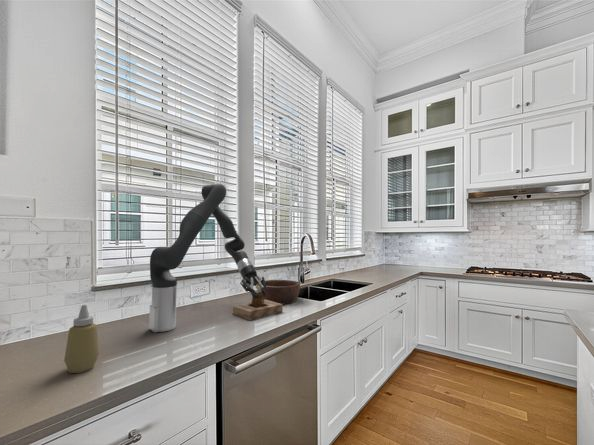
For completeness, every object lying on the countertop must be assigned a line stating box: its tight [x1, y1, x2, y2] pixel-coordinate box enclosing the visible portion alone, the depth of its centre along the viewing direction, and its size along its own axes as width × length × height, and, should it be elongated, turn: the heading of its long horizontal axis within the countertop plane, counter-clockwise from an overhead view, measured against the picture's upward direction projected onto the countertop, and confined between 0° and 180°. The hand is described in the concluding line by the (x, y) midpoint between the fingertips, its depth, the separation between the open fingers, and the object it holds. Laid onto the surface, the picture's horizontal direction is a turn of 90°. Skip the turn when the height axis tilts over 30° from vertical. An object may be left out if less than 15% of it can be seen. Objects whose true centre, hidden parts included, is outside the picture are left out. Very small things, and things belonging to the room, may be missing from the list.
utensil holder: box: [251, 283, 264, 308], centre depth 142 cm, size 6×6×12 cm
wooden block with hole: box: [232, 300, 284, 321], centre depth 142 cm, size 20×14×4 cm
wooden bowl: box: [258, 279, 301, 305], centre depth 170 cm, size 25×25×10 cm
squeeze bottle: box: [63, 304, 100, 374], centre depth 83 cm, size 8×8×18 cm
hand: (260, 296), depth 141 cm, fingers closed on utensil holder, 5 cm apart
